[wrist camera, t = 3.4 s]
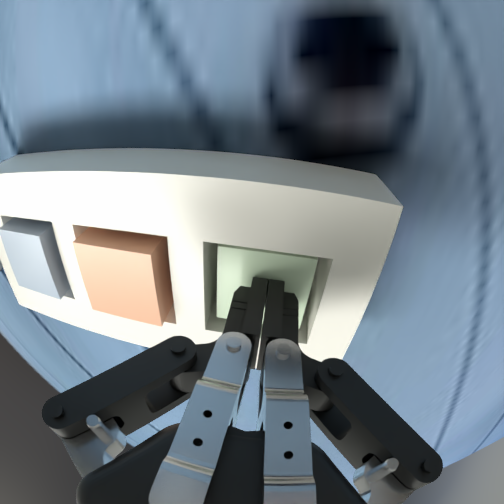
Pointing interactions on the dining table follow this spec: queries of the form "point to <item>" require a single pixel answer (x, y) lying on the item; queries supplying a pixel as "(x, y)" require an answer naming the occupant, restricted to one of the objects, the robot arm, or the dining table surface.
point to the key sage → (262, 273)
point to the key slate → (35, 256)
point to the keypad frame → (208, 231)
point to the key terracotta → (126, 273)
